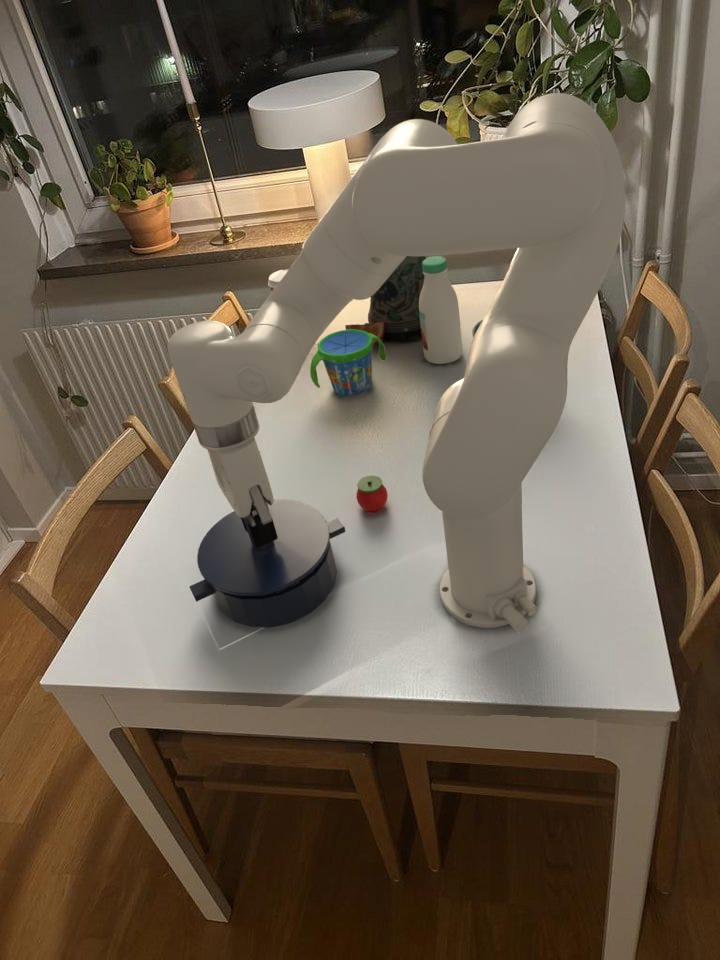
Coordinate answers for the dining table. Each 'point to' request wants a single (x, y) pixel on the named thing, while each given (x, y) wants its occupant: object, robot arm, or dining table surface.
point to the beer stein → (400, 302)
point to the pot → (279, 594)
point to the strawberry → (371, 494)
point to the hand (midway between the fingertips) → (261, 533)
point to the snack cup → (347, 360)
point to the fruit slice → (370, 329)
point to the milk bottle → (439, 314)
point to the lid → (264, 550)
